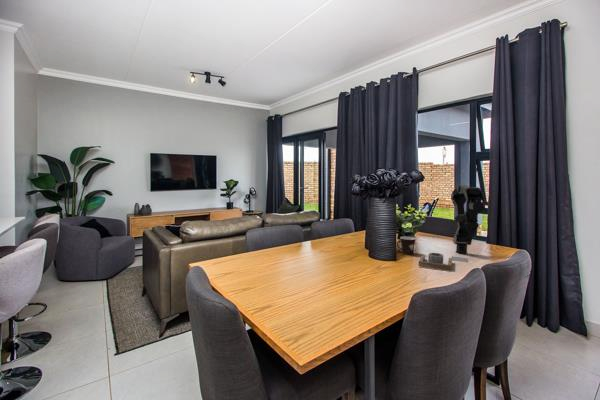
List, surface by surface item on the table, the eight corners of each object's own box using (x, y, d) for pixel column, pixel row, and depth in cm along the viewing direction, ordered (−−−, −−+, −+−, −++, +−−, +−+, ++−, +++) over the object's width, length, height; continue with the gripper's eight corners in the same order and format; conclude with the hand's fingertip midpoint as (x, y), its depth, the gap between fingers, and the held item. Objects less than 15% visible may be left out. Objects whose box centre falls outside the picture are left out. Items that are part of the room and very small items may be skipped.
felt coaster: (451, 257, 166) (451, 256, 166) (467, 259, 162) (467, 258, 162) (451, 261, 159) (451, 259, 159) (467, 263, 155) (467, 261, 155)
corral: (421, 259, 162) (422, 254, 162) (451, 263, 155) (452, 258, 154) (418, 267, 149) (418, 261, 149) (450, 271, 142) (451, 266, 142)
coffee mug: (412, 252, 178) (413, 236, 177) (417, 256, 169) (417, 239, 168) (393, 252, 179) (393, 236, 178) (396, 255, 170) (397, 239, 169)
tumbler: (429, 262, 157) (429, 252, 156) (443, 264, 153) (443, 253, 153) (427, 266, 151) (428, 255, 150) (442, 268, 147) (442, 257, 147)
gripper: (455, 207, 169) (454, 233, 171) (454, 211, 153) (453, 239, 155) (477, 208, 164) (476, 235, 165) (479, 212, 148) (477, 242, 149)
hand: (470, 237), depth 159 cm, fingers closed
